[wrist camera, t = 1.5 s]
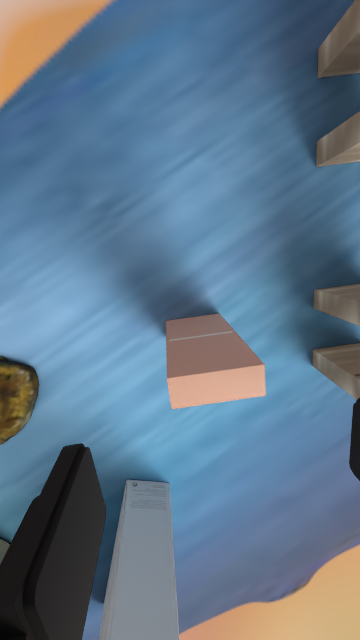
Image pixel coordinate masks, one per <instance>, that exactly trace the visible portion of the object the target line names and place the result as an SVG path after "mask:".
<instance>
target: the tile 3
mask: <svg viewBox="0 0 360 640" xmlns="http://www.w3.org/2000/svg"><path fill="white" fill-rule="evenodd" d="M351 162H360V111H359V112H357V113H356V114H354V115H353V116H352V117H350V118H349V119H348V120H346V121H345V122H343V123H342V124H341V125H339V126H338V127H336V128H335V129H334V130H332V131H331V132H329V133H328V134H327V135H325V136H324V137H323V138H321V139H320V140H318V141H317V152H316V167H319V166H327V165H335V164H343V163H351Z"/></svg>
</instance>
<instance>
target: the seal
mask: <svg viewBox="0 0 360 640" xmlns="http://www.w3.org/2000/svg"><path fill="white" fill-rule="evenodd" d="M38 388H39V381H38V376H37V374H36V371H35V369H33V368H32V367H30V366H26V365H21V364H18V363H13V362H10V361H9V360H8V359H7V358H5V357H2V356H0V445H1V444H3V443H5V442H6V441H8V440H9V439H10V438H11V437H13V436H15V435H16V434H17V433H18V432H19V431H21V430H22V428H23V427H24V426H25V425H26V424H27V422H28V421H29V419H30V417H31V415H32V411H33V409H34V406H35V402H36V399H37V396H38Z"/></svg>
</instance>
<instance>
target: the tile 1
mask: <svg viewBox="0 0 360 640" xmlns="http://www.w3.org/2000/svg"><path fill="white" fill-rule="evenodd" d="M166 351H167V381H168V388H169V394H170V401H171V407H172V409H177V408H184V407H190V406H197V405H204V404H211V403H218V402H225V401H232V400H238V399H245V398H252V397H259V396H266V389H265V364H264V363H263V362H262V361H261V360H260V359H259V358H258V357H257V355H256V354H255V353H254V352H253V351H252V350H251V349H250V348H249V346H248V345H247V344H246V343H245V342H244V341H243V340H242V338H241V337H240V336H239V335H238V334H237V333H236V332H235V331H234V329H233V328H232V327H231V326H230V325H229V324H228V323H227V322H226V320H225V319H224V318H223V317H222V316H221V315H220V314H219V313H218V314H211V315H204V316H196V317H189V318H182V319H174V320H167V321H166Z"/></svg>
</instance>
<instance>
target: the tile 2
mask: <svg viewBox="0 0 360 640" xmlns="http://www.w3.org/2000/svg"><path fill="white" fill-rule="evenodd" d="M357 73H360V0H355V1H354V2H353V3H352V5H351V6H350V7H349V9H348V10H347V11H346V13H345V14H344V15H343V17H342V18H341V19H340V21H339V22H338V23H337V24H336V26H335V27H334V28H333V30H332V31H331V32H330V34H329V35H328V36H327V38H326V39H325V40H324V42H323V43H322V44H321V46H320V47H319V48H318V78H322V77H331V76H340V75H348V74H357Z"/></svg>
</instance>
